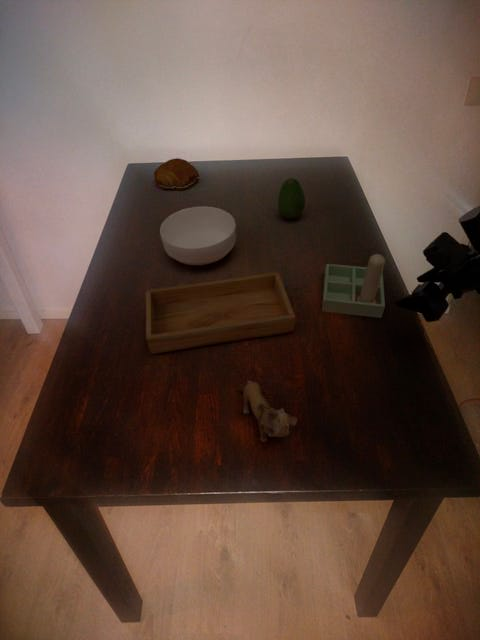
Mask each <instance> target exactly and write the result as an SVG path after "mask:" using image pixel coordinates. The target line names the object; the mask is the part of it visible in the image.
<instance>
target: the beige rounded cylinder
mask: <svg viewBox="0 0 480 640" xmlns="http://www.w3.org/2000/svg"><path fill="white" fill-rule="evenodd" d="M385 265H386V259H385V257H384V255H382V254H379V253H375V254H372V255H371V256H370V257H369V259H368V261H367V265H366V267H367V270H366V274H365V278H364V282H363V286H362V290H361V294H360V296H359V297H358V298H357V302H366V303H376V300H375V296H376V292H377V289H378V285H379V282H380V278H381V275H382V271H384V267H385Z"/></svg>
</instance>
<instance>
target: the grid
mask: <svg viewBox="0 0 480 640" xmlns="http://www.w3.org/2000/svg"><path fill="white" fill-rule="evenodd" d="M366 270H367V266H359V265H358V266H356V265H346V264H333V263H325V271H324V278H323V279H324V280H323V290H322V303H321V312H323V313H324V312H325V313H332V314H333V313H334V314H342V315H343V314H344V315H351V316H361V317H369V318H378V319H382V317H383V315H384V311H385V309H386V300H385V288H384V287H385V285H384V273H383V271H384V270H383V271H382V275H381V278H380V282H379V285H378V289H377V292H376V296H375V300H376V303H366V302H357V298H358V297H359V296H360V294H361V290H362V286H363V282H364V278H365V274H366Z"/></svg>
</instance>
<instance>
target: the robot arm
mask: <svg viewBox="0 0 480 640" xmlns="http://www.w3.org/2000/svg"><path fill="white" fill-rule="evenodd" d="M458 223H459V225H460V226H461V228H462V230H463V232H464V233H465V236H466V237H467V239H468V241H469V243H470V245H471V246H472V248H473V250H472V249H471V247H470V245H468V244H466V243H460V242H459V241H458V240H457V239H456V238H455V237H453V236H452V235H451V234H450V233H448V232H447V231H442V232H441V233H440V234H439V235H437V237H436V238H434V239H433V240H432V241H430V243H429V244H428V245H427V246H426V247H425V248H424V249H423V250H422V254H423V256H424V257H425V261H426V262H427V263H429V264H430V265H431V266H432V268H430V269H428V270H427V271H425V272H424V273H422V274H420V275H419V276H417V277H416V280H417V282H418V285H416V286H415V288H414V289H413V290H412V291H411V294H408V295H406V296H403V297H401V298H399V299H397V300H395V304H396V306H397V307H398V308H402V309H403V308H404V309H406V310H409V311H413V312H415V313H418V314H420V315H421V316H422V317H423V319H424V320H425V322H427V323H433V322H438V321H440V320H441V318H442V317H443V315H444V314H445V313H446V312H447V310H448V309H449V306H450V303H449V302H448V300H447V298H448V296H449V295H450V294H451V295H452V298H453V299H454V300H460V299H461V298H462V297H463V296H464V294H466V293H470V292H476V293H477V295H480V205H478V206H475V207H474V208H472V209H470V210H469V211H467V212H465V213H464V214H463V215H461V216H459V218H458ZM438 283H439V284H438Z"/></svg>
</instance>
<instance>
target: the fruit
mask: <svg viewBox="0 0 480 640" xmlns="http://www.w3.org/2000/svg"><path fill="white" fill-rule="evenodd" d="M305 206H306V197H305V194H304V190H303V189H302V186H301V184H300V182H299V180H297V179H296V178H294V177H293V178H292V177H290V178H288V179H285V180H284V182H283V183H282V185H281V188H280V191H279V194H278V198H277V207H278V211H279V213H280V214H281V216H282V217H284V218H285V219H289V220H292V219H295V218H297V217H299V216H301V214H302V213H303V212H304V209H305Z"/></svg>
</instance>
